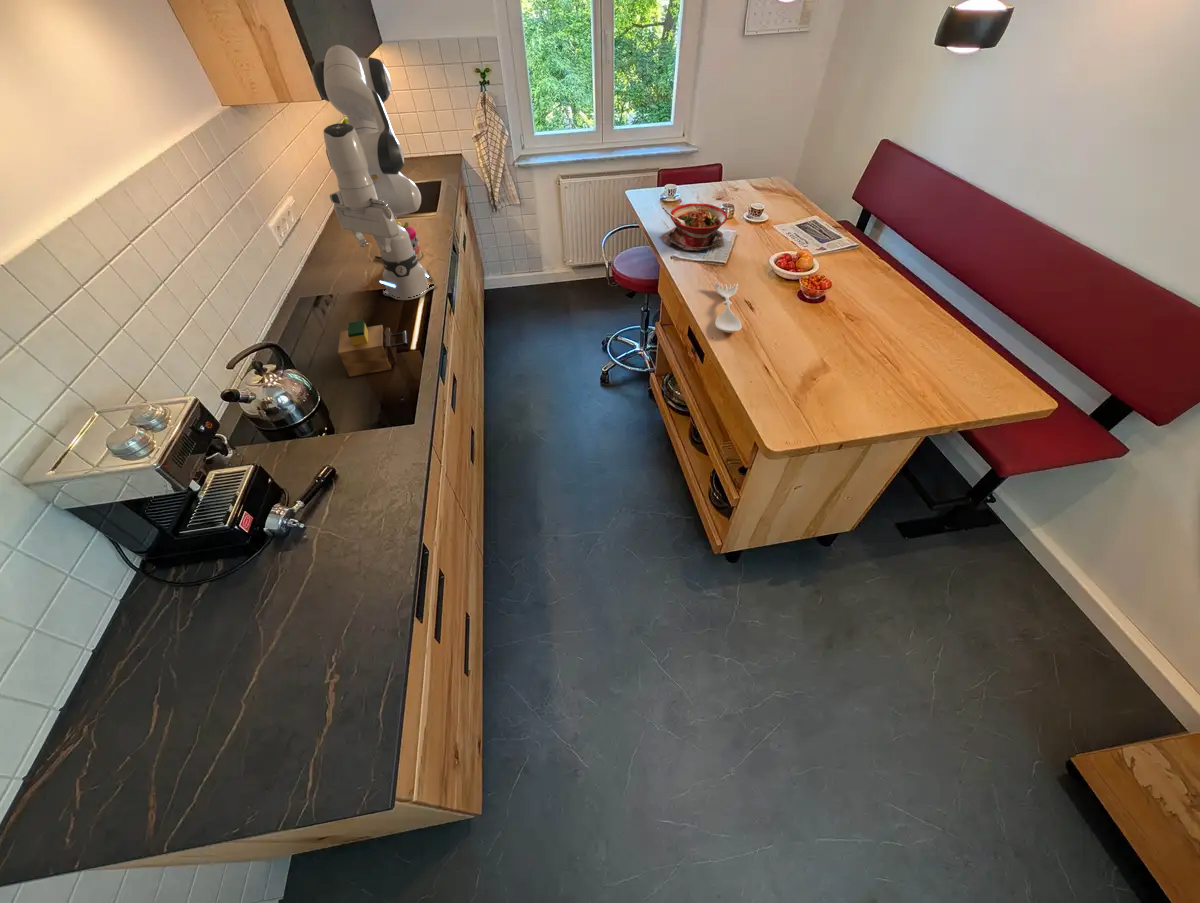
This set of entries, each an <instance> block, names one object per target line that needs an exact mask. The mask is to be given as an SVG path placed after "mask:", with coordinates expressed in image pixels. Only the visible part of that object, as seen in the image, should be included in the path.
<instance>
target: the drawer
mask: <svg viewBox="0 0 1200 903" xmlns="http://www.w3.org/2000/svg"><path fill="white" fill-rule="evenodd" d="M385 334H386V341H385V338H384V336H383V348H384V351H385V353H386V356H387V358H388V354H389V356H390V359H391V365H392V366H397V365H398V354H397V347H402V346H403V347H408V345H409V344H408V331H407V330H402V332H396V333H392V331H391V328H390V327H385ZM399 336H402V342H400V343H396V342H395V341H396V340H395V338H394V337H399Z"/></svg>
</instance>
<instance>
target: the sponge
mask: <svg viewBox="0 0 1200 903" xmlns="http://www.w3.org/2000/svg"><path fill="white" fill-rule="evenodd" d="M367 327H368V326H367V325H366V322H365V320H357V321H351V322H348V328H347V330H348V336H349V338H350V340H351V343H352V345H359V344H365V343H368V329H367Z"/></svg>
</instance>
